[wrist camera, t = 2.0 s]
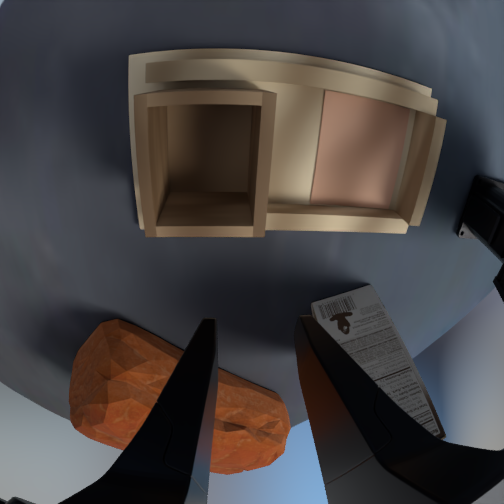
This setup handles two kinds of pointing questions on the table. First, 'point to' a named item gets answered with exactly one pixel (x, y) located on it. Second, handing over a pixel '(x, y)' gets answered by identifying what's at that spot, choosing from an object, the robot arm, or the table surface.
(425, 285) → the table surface
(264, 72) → the beige cubby shelf
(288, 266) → the table surface
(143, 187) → the crate
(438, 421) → the coffee box
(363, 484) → the robot arm
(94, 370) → the bread
